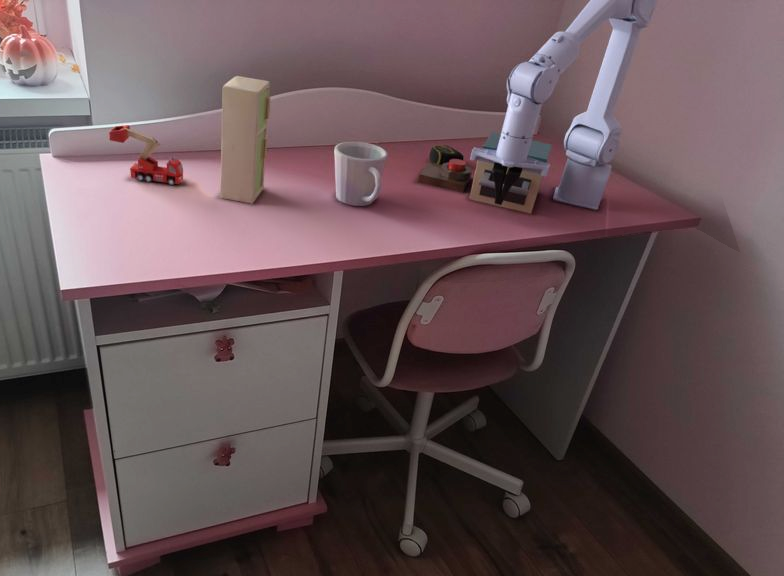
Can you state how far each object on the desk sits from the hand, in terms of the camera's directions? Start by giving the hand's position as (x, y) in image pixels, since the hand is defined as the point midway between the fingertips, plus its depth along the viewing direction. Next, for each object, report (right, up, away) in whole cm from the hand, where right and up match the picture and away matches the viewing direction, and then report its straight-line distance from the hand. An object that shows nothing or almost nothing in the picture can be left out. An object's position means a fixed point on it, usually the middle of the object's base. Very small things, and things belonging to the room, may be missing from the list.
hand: (498, 202), depth 131 cm
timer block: (-7, +9, +18) cm, 21 cm away
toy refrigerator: (-50, +2, +1) cm, 50 cm away
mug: (-27, 0, +3) cm, 27 cm away
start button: (-5, +11, +15) cm, 19 cm away
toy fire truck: (-69, +5, +2) cm, 69 cm away
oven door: (+2, 0, +8) cm, 8 cm away
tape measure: (-6, +15, +27) cm, 31 cm away
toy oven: (+5, +5, +14) cm, 16 cm away
